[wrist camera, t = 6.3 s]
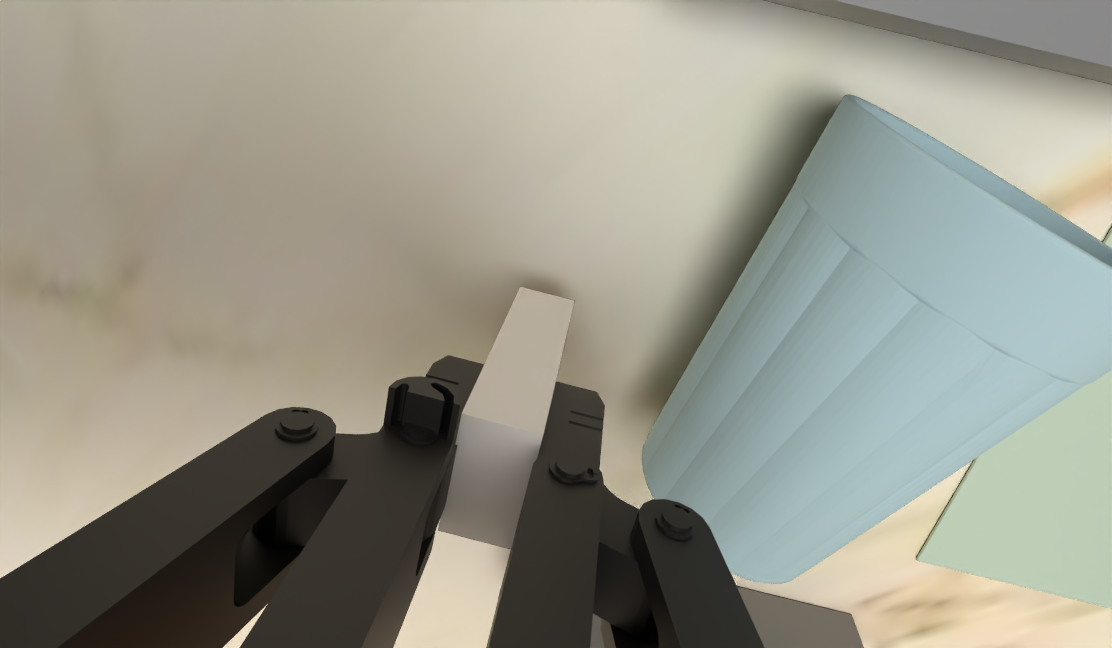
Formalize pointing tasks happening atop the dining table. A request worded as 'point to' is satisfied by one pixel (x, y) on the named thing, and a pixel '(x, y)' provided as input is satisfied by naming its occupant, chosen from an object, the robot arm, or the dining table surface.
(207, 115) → the dining table surface
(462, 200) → the dining table surface
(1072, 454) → the mat
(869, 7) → the lane
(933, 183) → the cup
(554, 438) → the robot arm
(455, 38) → the dining table surface
